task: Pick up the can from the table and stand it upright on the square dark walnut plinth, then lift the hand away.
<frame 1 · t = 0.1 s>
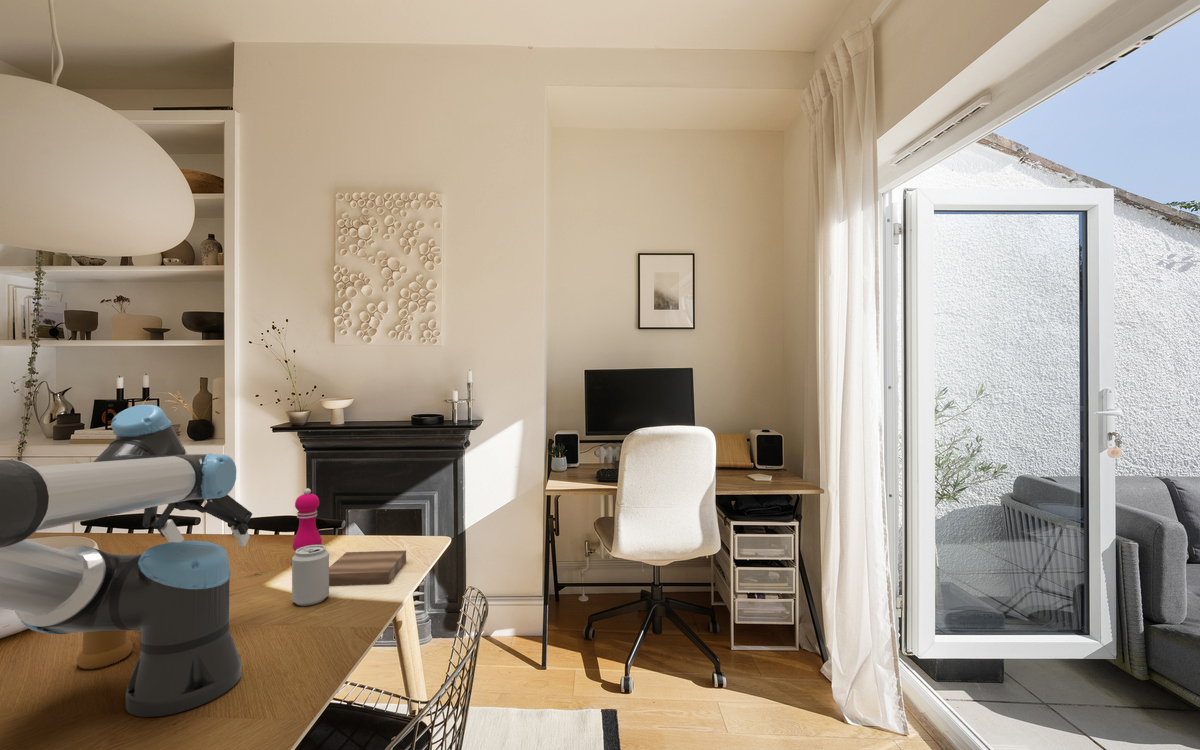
hand: (212, 543, 115), 15 cm above the table, tool tilted 35°, fingers open, 13 cm apart
ornamental finial: (105, 660, 97), on the table
pepper mill: (307, 560, 149), on the table
walnut plinth: (366, 572, 139), on the table
can: (310, 601, 122), on the table
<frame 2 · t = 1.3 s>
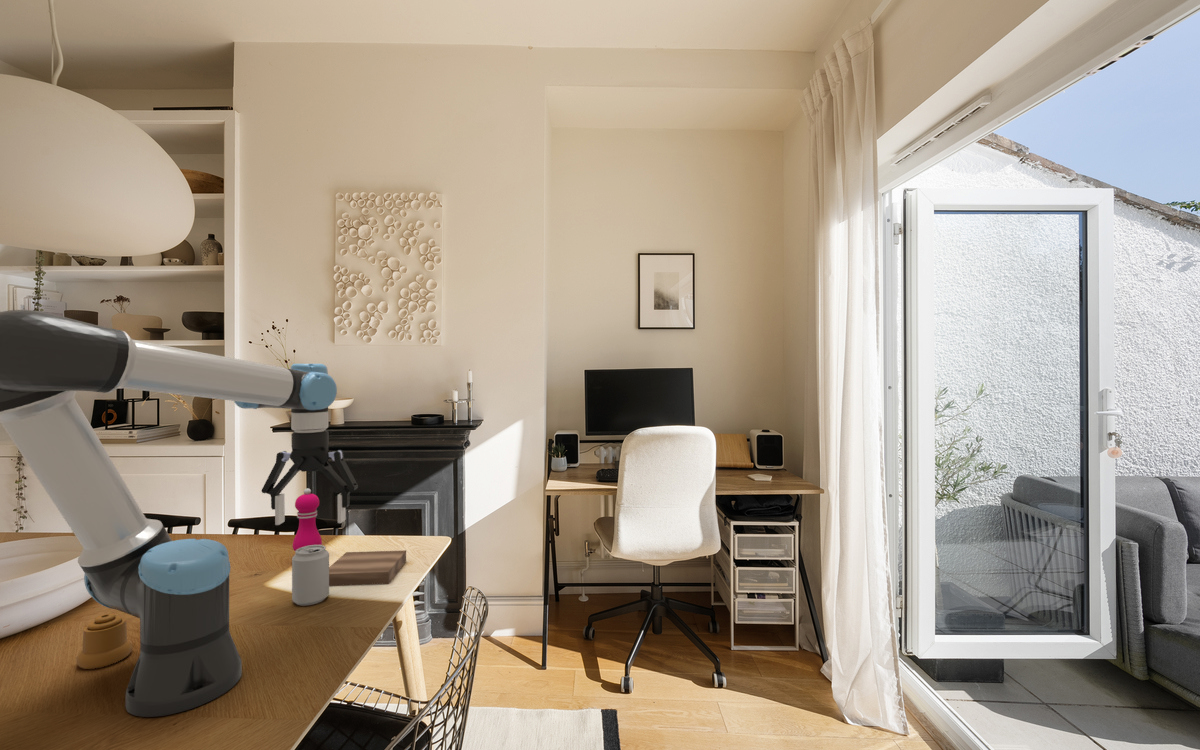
hand: (311, 522, 122), 18 cm above the table, tool pointing down, fingers open, 13 cm apart
nothing on the table moved.
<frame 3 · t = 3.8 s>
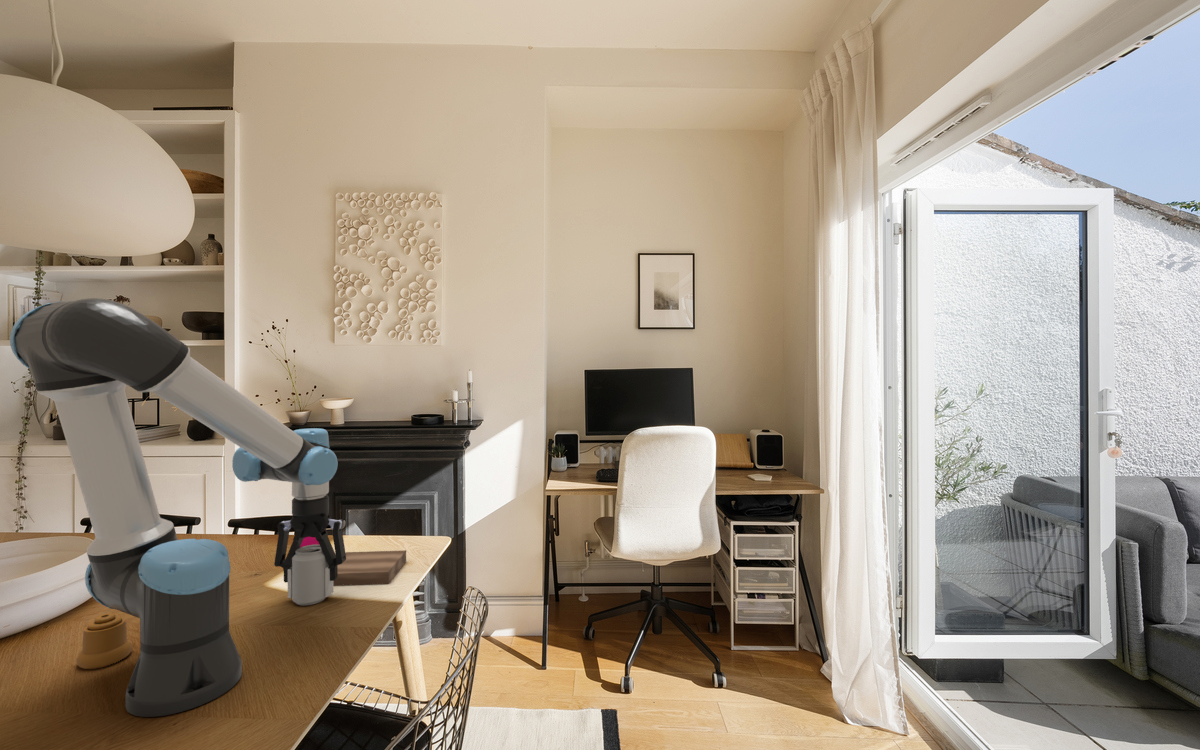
hand: (310, 594, 122), 1 cm above the table, tool pointing down, fingers closed on can, 7 cm apart
can: (310, 600, 122), on the table, touching gripper
everything else where it was.
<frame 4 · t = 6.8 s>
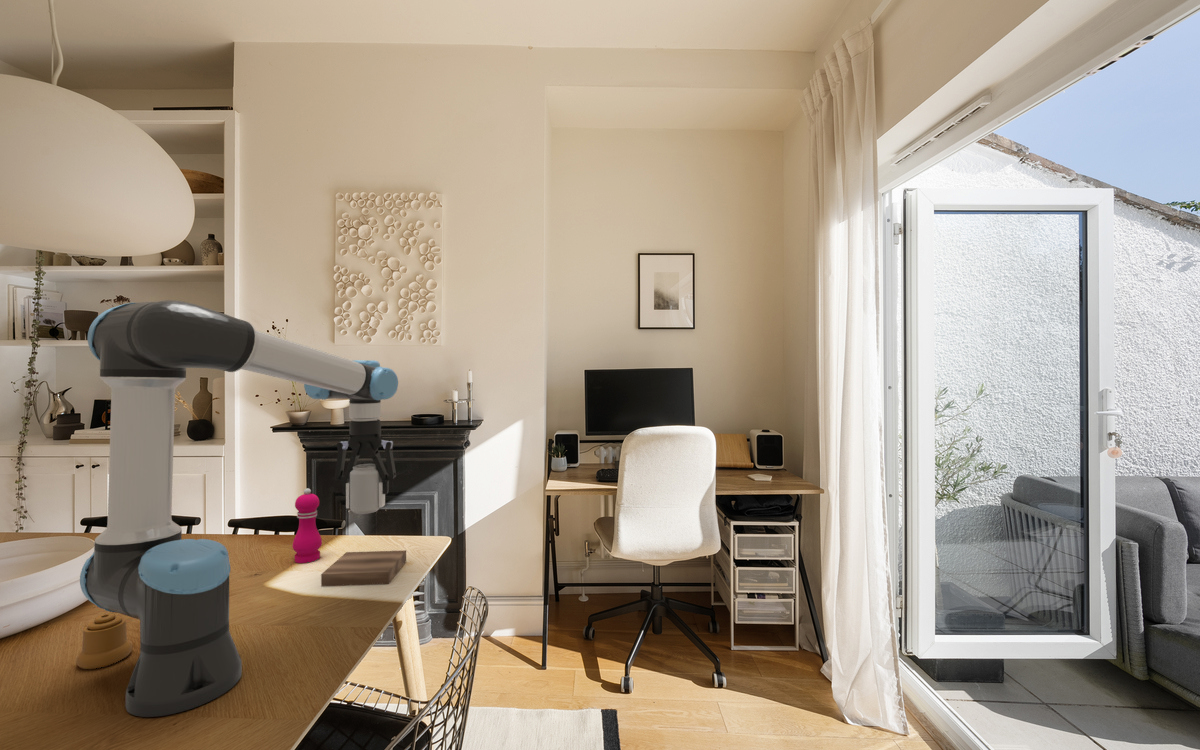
hand: (365, 506, 138), 17 cm above the table, tool pointing down, fingers closed on can, 7 cm apart
can: (365, 511, 138), point 16 cm above the table, touching gripper
everything else where it was.
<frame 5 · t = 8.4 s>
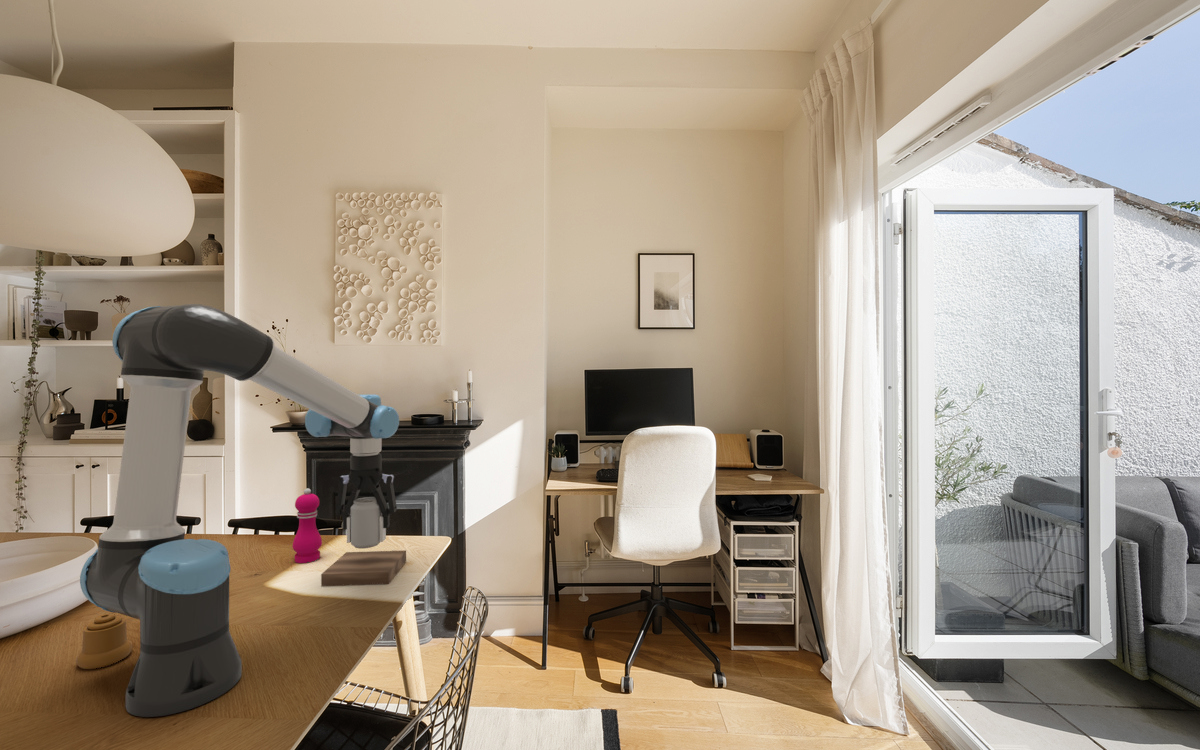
hand: (366, 540, 139), 8 cm above the table, tool pointing down, fingers closed on can, 7 cm apart
can: (366, 545, 139), point 7 cm above the table, touching gripper
everything else where it was.
when the fingers open (6 cm above the table, at t = 9.8 s): can drops 1 cm, resting on walnut plinth.
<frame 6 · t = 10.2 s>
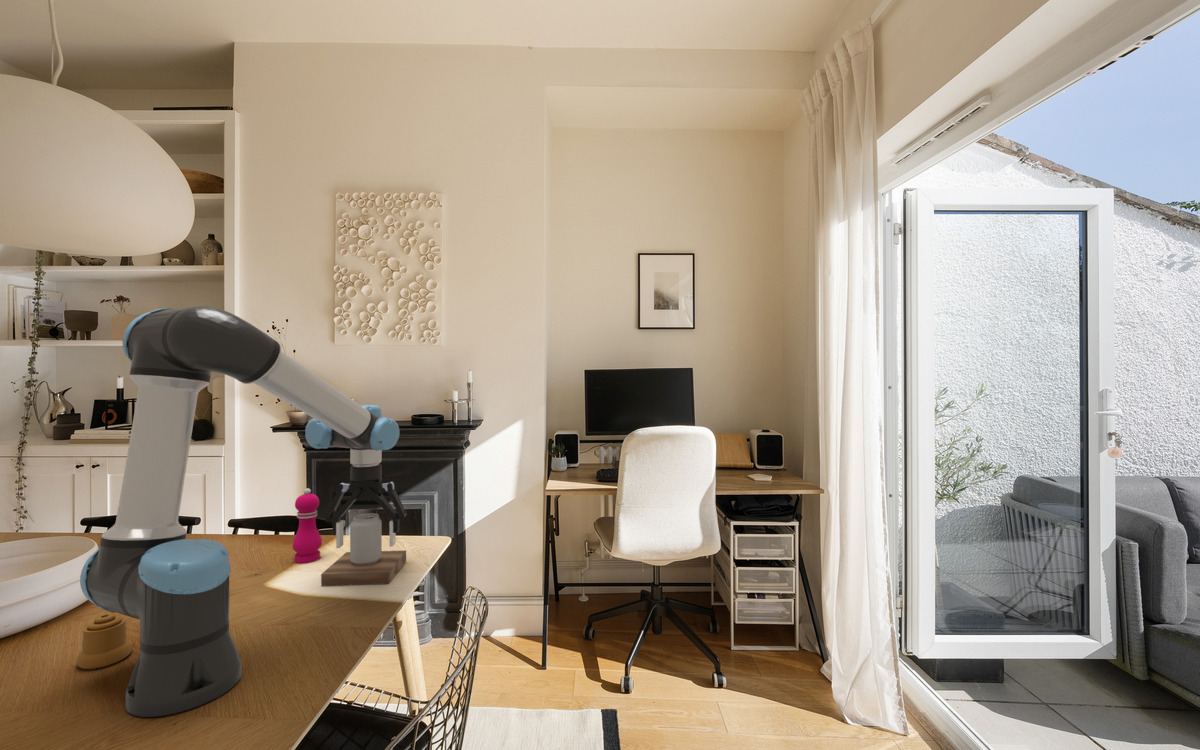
hand: (366, 545, 139), 7 cm above the table, tool pointing down, fingers open, 13 cm apart
can: (366, 562, 139), point 3 cm above the table, touching walnut plinth
everything else where it was.
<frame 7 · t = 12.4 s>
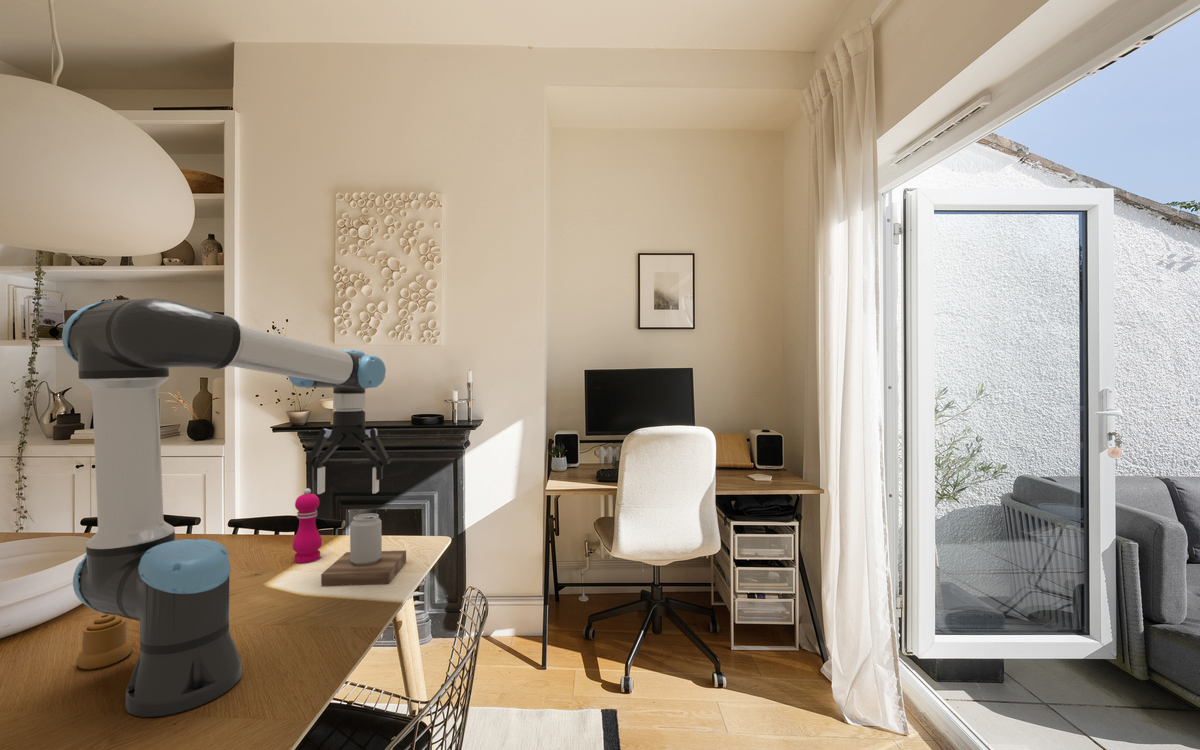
hand: (348, 492, 136), 22 cm above the table, tool pointing down, fingers open, 13 cm apart
nothing on the table moved.
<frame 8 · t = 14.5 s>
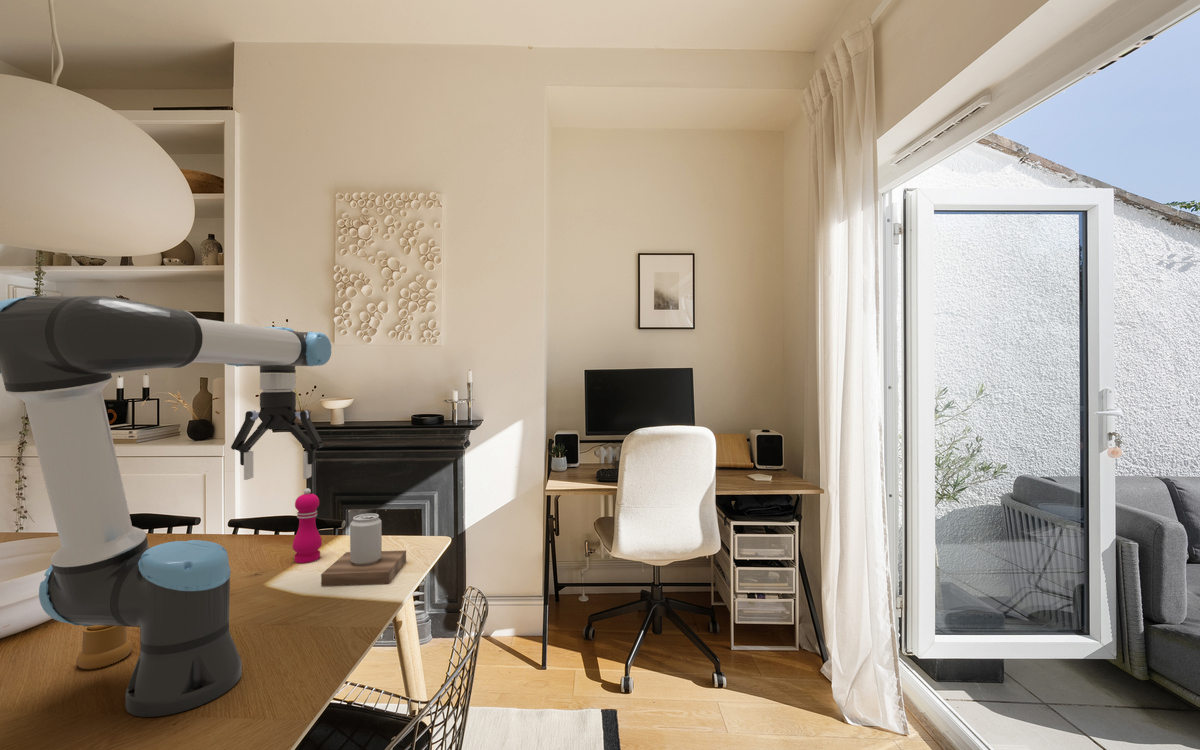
hand: (278, 478, 129), 27 cm above the table, tool pointing down, fingers open, 13 cm apart
nothing on the table moved.
at the end: can inside the target area on the walnut plinth (0.1 cm from its centre), point 2.8 cm above the walnut plinth's base; can tilted 0°; the gripper is holding nothing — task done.
